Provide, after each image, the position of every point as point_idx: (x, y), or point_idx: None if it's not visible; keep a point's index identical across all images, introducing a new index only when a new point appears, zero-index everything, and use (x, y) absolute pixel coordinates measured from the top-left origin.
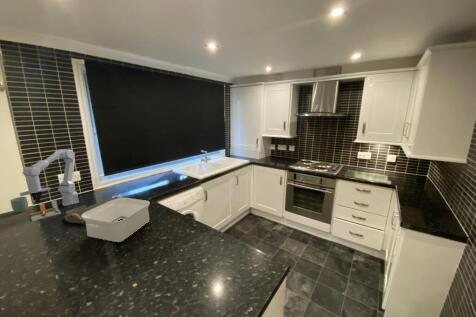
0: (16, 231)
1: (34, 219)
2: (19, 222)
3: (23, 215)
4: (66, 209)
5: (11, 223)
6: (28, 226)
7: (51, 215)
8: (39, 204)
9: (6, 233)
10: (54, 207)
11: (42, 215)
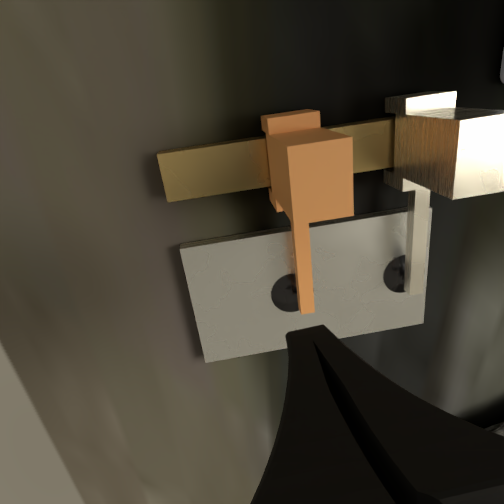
0: (136, 468)
1: (225, 351)
2: (100, 307)
3: (72, 86)
4: (482, 224)
5: (29, 287)
6: (196, 431)
7: (350, 335)
8: (289, 163)
9: (77, 467)
10: (416, 187)
11: (283, 293)
